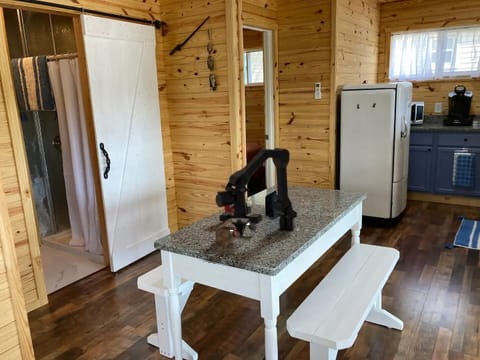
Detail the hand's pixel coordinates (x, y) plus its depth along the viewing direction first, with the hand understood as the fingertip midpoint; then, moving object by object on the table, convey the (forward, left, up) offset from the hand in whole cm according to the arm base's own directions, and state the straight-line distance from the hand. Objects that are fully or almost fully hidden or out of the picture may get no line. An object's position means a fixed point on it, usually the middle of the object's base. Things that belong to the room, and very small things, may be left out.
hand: (242, 235), depth 177 cm
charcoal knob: (+2, -10, -1) cm, 10 cm away
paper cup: (+18, -26, -3) cm, 32 cm away
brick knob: (+6, 0, -1) cm, 6 cm away
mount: (+8, -5, -3) cm, 10 cm away
